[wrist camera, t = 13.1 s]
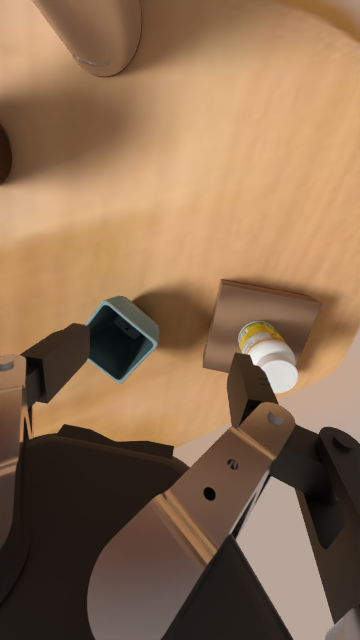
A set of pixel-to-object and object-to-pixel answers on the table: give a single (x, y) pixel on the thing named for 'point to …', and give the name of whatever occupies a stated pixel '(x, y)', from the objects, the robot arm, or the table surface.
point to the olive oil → (4, 155)
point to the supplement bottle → (269, 354)
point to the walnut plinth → (256, 305)
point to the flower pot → (120, 337)
